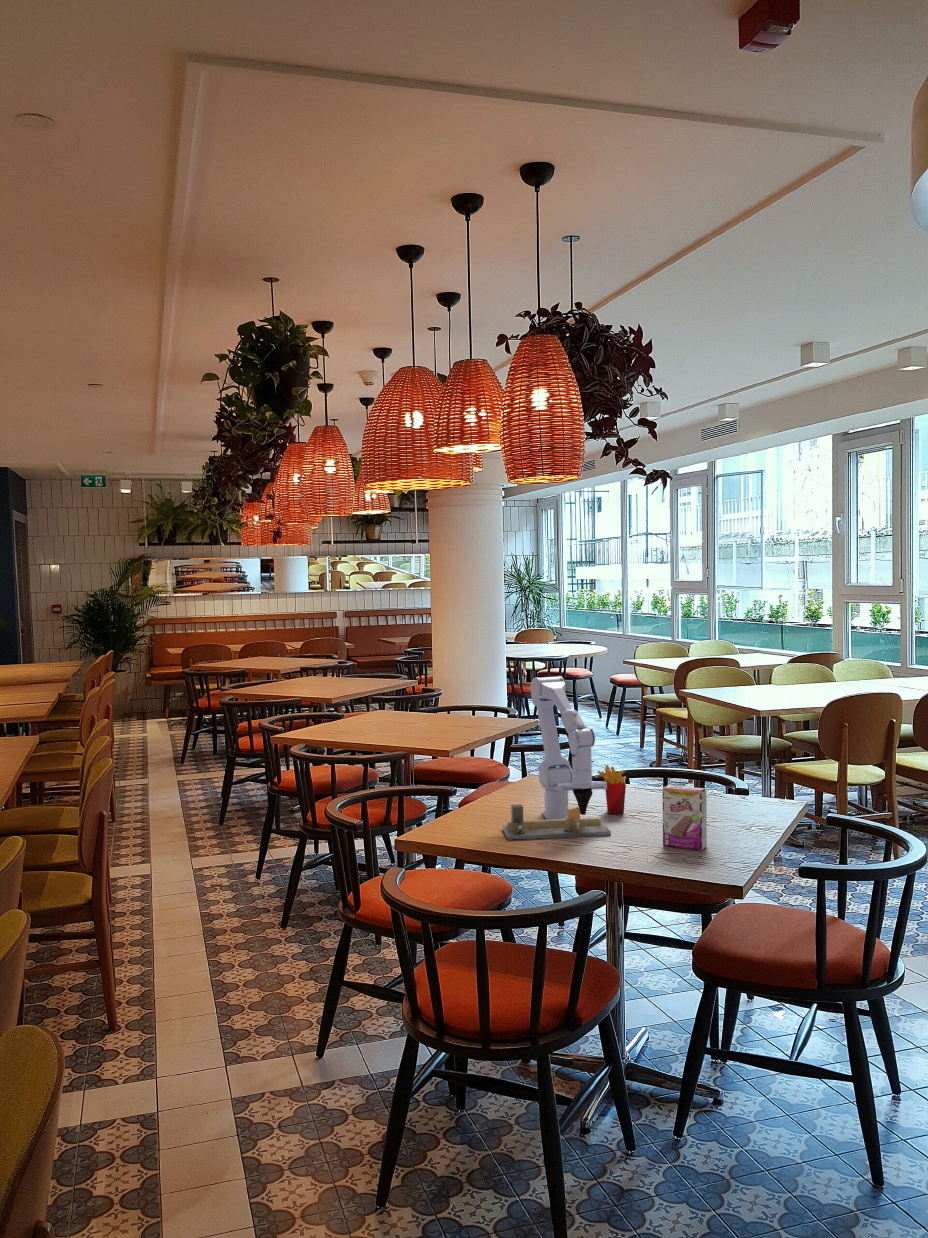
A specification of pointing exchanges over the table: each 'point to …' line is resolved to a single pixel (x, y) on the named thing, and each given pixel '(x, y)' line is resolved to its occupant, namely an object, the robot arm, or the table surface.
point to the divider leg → (573, 814)
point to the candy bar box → (684, 817)
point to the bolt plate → (551, 827)
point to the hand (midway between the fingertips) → (582, 814)
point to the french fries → (614, 790)
